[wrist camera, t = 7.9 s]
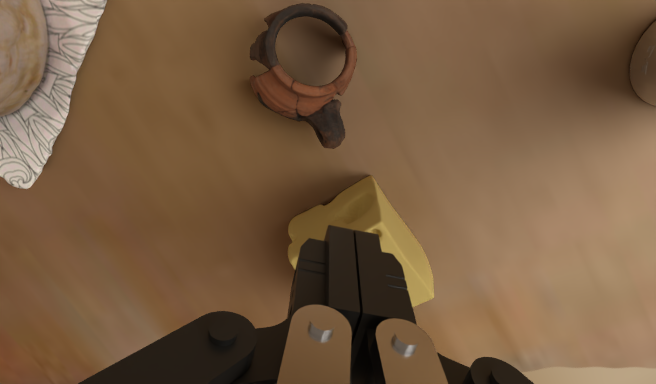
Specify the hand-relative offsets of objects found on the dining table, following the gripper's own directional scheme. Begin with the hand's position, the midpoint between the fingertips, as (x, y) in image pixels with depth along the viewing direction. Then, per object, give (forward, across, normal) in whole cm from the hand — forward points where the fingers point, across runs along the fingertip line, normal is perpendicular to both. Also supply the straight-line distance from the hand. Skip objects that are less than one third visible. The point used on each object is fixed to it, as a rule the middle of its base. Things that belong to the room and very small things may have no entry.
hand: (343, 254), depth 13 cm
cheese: (+29, -6, +16) cm, 34 cm away
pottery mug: (+29, +2, +1) cm, 29 cm away
